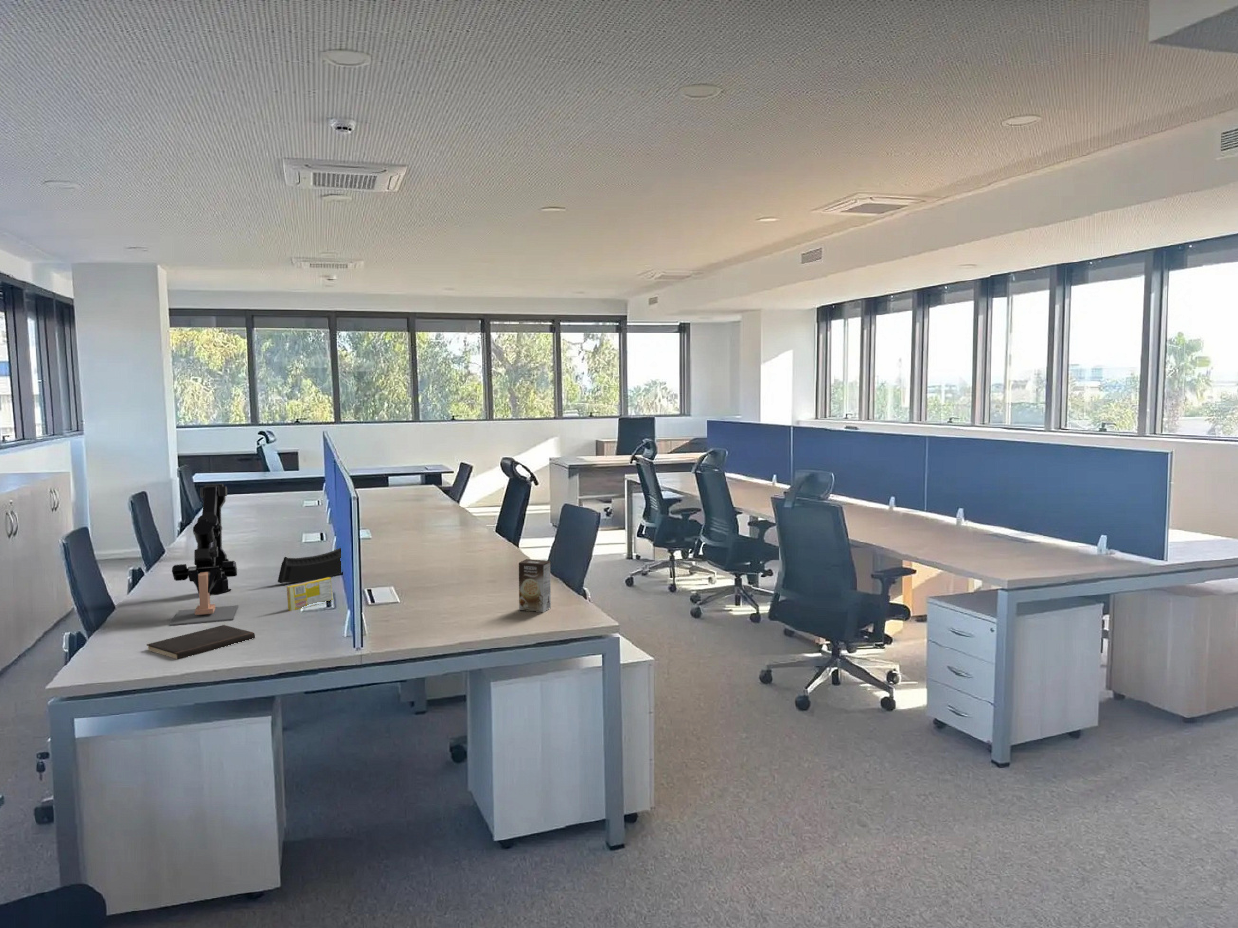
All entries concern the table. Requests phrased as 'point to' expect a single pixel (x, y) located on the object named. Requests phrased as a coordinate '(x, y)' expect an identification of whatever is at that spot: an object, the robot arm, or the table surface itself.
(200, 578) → the pink block bookend
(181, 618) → the mat
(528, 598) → the coffee box
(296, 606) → the candy box
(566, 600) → the table surface
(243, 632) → the hardcover book
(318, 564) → the magazine
